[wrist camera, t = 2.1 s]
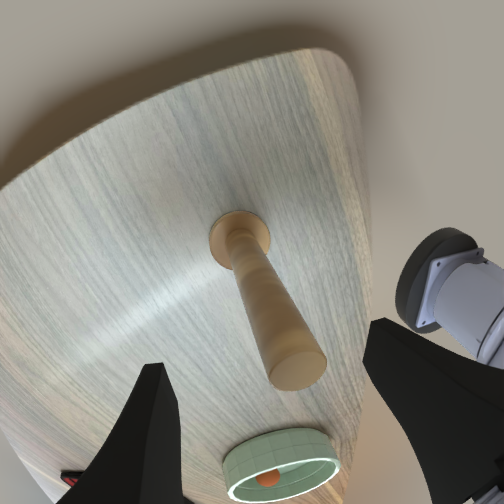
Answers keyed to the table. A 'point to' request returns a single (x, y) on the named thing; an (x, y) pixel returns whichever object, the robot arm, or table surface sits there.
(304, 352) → the stick
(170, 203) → the table surface
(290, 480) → the mixing bowl
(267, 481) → the ball
